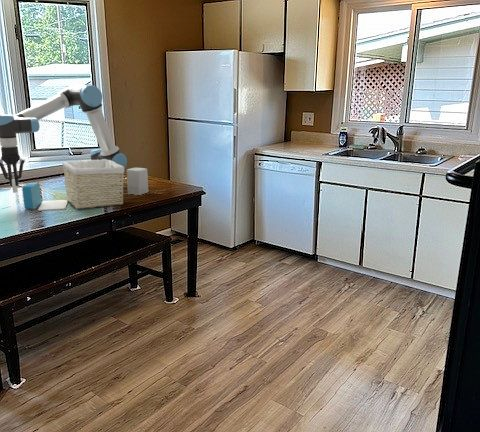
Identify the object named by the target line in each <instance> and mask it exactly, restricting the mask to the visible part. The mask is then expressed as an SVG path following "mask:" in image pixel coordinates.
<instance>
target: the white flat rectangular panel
mask: <svg viewBox="0 0 480 432" xmlns="http://www.w3.org/2000/svg"><path fill="white" fill-rule="evenodd" d="M68 202H69V201H68V200H67V199H59V200H57V199H56V200H42V201H41V205H39V206H38V209H37V211H38V212H41V211H44V210H45V211H57V210H58V211H59V210H66V208H67V205H68Z"/></svg>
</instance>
